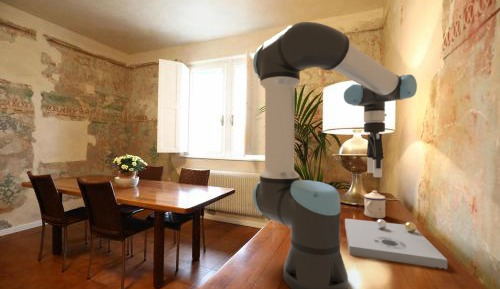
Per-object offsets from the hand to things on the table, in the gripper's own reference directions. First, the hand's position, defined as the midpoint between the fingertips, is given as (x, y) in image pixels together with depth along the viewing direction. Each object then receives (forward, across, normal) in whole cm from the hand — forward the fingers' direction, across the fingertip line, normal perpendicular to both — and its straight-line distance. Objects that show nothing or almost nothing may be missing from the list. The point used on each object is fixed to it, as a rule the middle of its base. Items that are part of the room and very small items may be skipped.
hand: (374, 174), depth 93 cm
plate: (+21, -15, -1) cm, 26 cm away
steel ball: (+17, -9, -1) cm, 19 cm away
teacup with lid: (+21, +16, -2) cm, 27 cm away
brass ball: (+17, -10, -10) cm, 22 cm away
